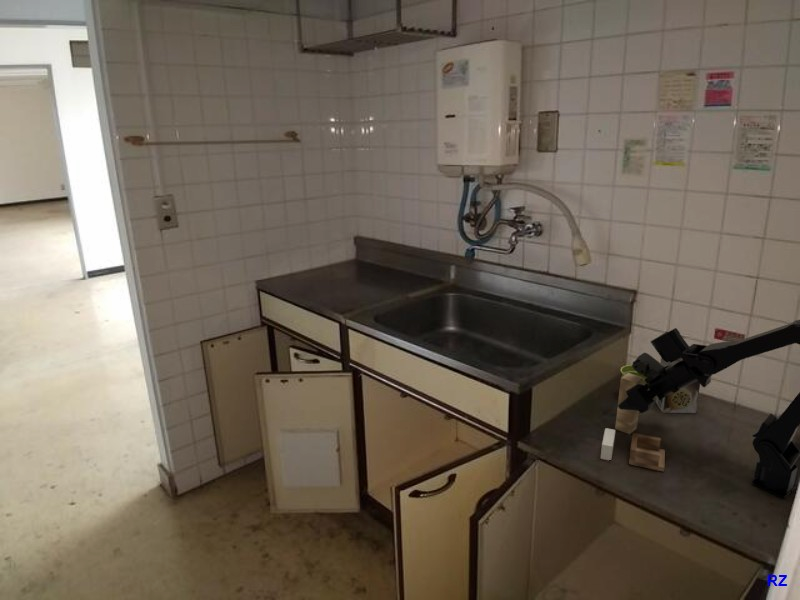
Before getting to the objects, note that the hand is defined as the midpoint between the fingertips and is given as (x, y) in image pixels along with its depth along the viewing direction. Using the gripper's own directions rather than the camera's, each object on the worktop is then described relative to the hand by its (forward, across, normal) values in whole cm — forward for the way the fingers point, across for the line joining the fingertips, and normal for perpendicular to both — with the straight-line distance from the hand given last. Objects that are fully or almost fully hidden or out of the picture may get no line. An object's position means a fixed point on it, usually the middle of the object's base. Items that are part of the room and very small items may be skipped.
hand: (627, 401), depth 145 cm
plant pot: (+10, -18, +2) cm, 20 cm away
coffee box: (+2, -20, +9) cm, 22 cm away
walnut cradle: (-2, +10, +13) cm, 16 cm away
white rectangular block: (+4, +13, +7) cm, 16 cm away
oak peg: (+5, 0, +6) cm, 8 cm away
